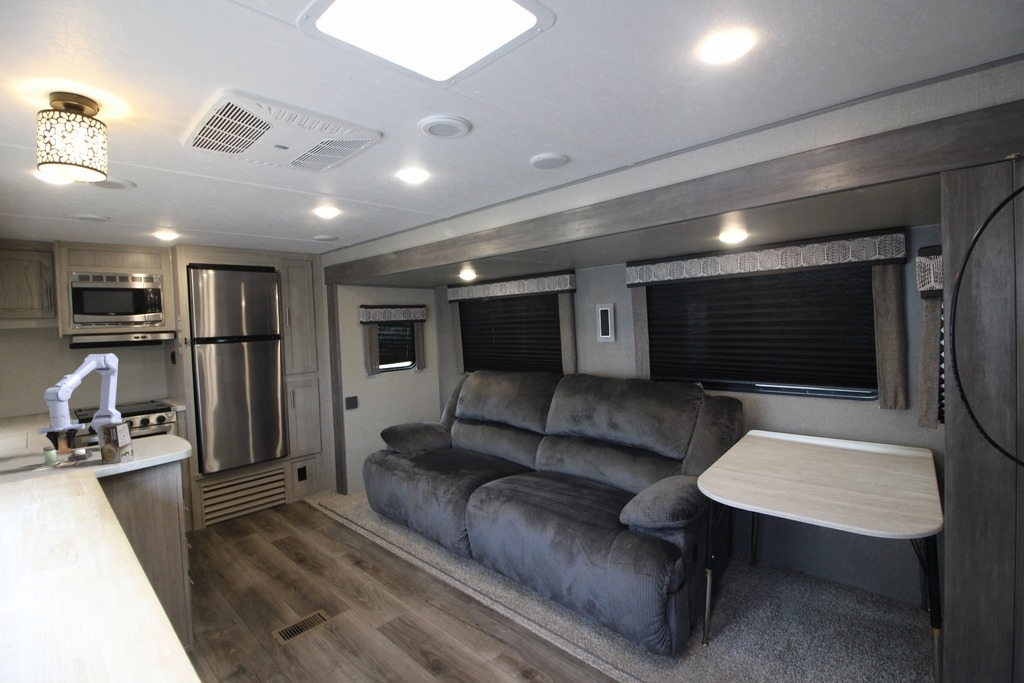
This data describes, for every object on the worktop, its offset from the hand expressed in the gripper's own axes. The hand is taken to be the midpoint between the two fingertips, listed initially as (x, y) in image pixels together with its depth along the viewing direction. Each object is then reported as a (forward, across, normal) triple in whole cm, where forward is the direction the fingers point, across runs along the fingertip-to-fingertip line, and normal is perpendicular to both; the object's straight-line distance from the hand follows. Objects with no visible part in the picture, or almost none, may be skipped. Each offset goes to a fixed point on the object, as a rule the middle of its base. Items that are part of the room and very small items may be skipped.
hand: (64, 448), depth 197 cm
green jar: (+7, -7, +5) cm, 11 cm away
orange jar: (+2, 0, 0) cm, 2 cm away
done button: (+7, +2, +6) cm, 10 cm away
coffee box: (+8, +18, -4) cm, 21 cm away
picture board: (+8, -2, +3) cm, 8 cm away
